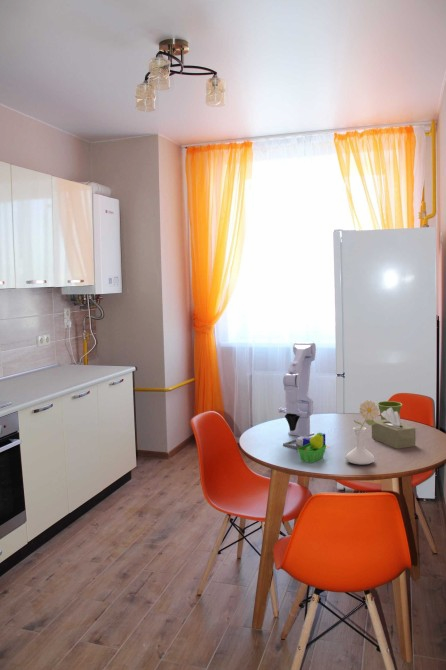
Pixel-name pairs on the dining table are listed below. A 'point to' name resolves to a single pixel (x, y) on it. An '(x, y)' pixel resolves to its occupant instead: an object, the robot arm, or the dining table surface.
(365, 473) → the dining table surface
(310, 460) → the fruit basket
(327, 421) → the dining table surface
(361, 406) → the flower in vase
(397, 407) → the plant pot
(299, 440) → the block
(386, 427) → the tissue box
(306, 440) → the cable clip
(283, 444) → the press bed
